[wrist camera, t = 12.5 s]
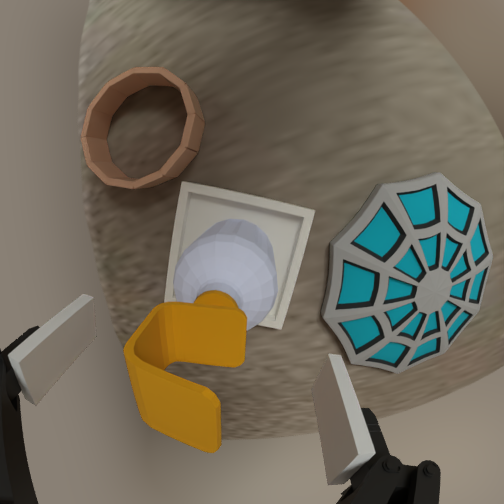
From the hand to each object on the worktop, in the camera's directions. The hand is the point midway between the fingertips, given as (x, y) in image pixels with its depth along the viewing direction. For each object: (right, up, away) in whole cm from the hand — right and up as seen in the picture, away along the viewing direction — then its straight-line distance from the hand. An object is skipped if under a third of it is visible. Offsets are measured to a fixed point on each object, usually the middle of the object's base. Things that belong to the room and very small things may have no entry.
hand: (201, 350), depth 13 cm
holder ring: (-10, +20, +16) cm, 28 cm away
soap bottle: (+1, +5, +19) cm, 20 cm away
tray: (+1, +5, +20) cm, 21 cm away
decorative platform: (+26, +1, +21) cm, 34 cm away
